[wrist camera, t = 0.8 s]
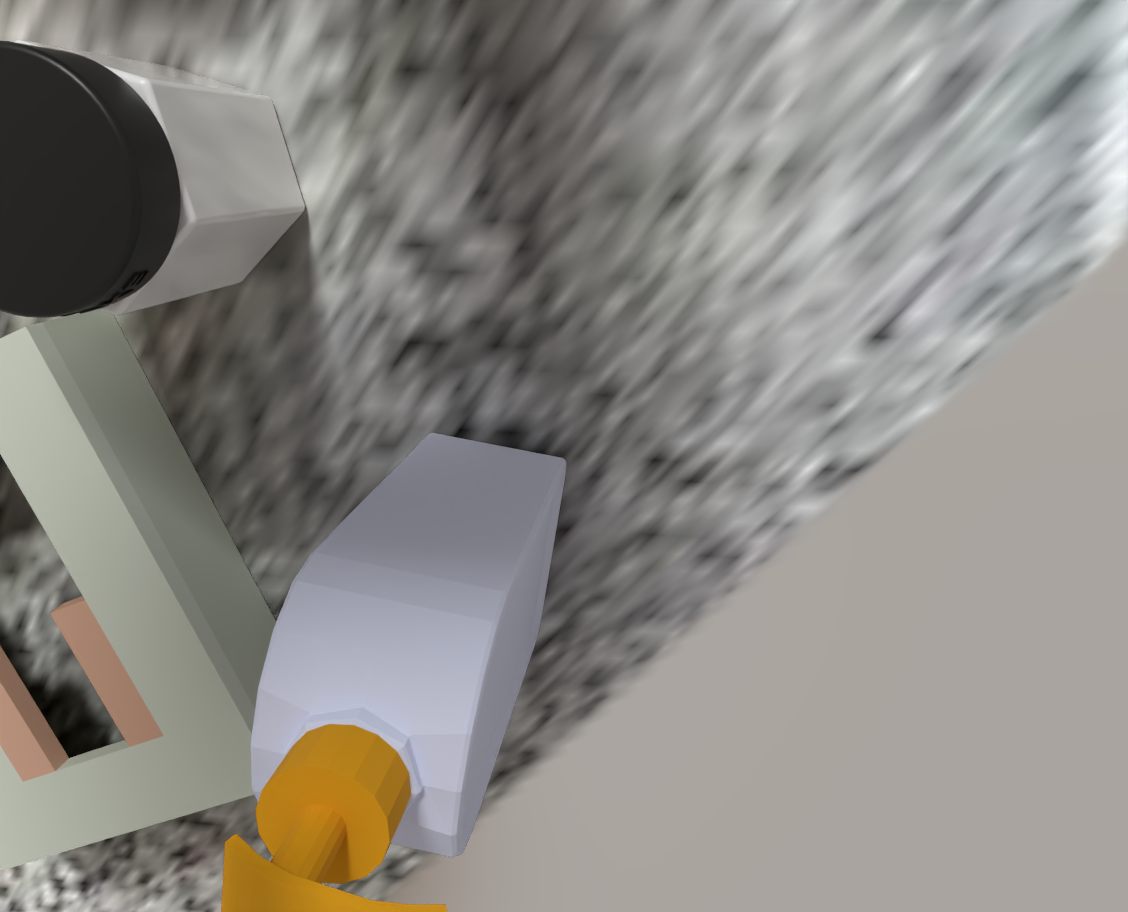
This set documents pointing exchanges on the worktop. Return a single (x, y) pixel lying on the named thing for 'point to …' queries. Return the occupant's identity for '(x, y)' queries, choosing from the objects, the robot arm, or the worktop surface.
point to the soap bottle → (396, 674)
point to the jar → (131, 182)
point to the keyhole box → (123, 600)
